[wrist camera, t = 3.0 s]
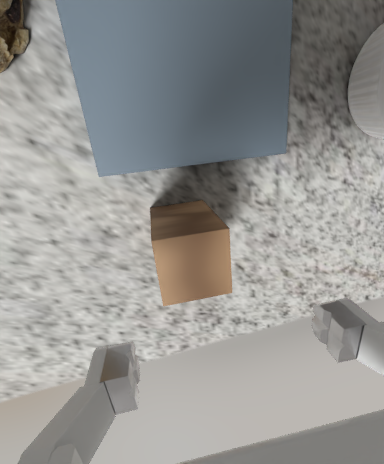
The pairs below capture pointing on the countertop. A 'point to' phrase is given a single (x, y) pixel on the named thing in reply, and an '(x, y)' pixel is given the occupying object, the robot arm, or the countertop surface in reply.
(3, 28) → the bread roll
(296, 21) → the countertop surface
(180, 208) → the walnut block
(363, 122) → the ramekin
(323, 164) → the countertop surface
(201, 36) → the slate board
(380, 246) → the countertop surface
